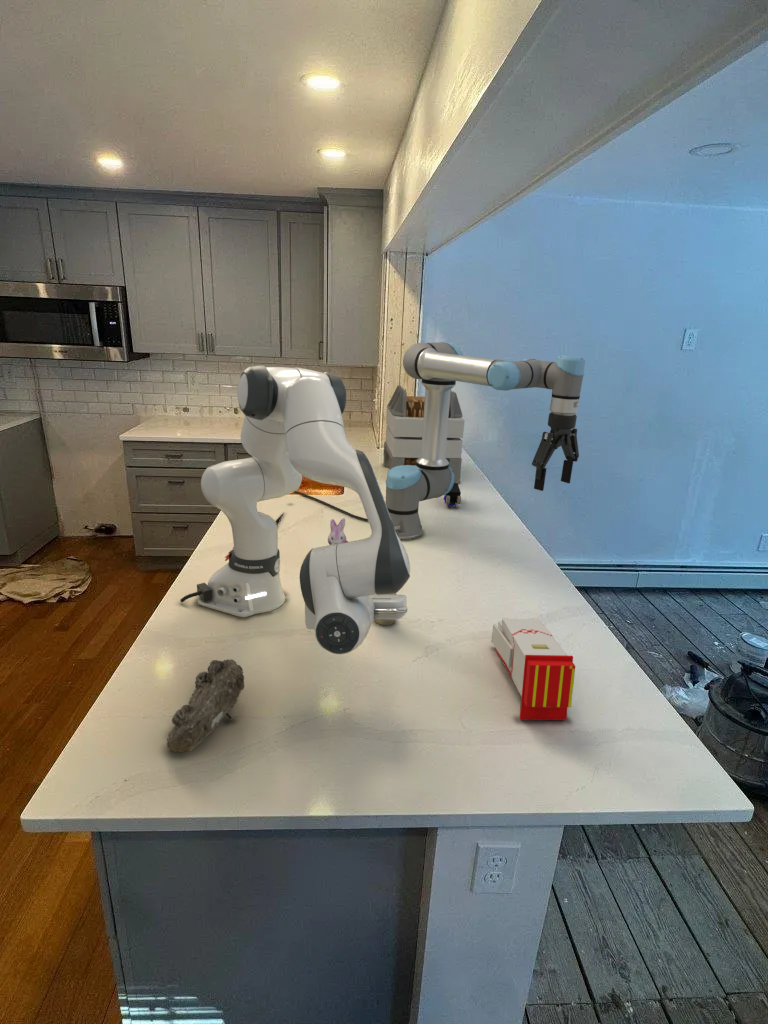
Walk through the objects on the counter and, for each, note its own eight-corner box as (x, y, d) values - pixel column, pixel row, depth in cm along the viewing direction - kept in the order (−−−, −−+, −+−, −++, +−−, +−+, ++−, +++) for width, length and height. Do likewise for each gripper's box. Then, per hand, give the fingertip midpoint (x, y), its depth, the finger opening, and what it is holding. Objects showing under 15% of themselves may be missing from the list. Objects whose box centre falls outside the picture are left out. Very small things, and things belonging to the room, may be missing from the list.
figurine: (332, 575, 167) (332, 527, 162) (319, 561, 175) (319, 516, 170) (361, 569, 171) (362, 523, 166) (347, 556, 179) (348, 512, 174)
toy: (537, 603, 136) (584, 662, 106) (532, 655, 138) (577, 726, 109) (487, 602, 135) (520, 661, 106) (483, 654, 138) (514, 725, 109)
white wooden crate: (382, 463, 289) (386, 382, 275) (445, 464, 293) (451, 384, 279) (390, 482, 257) (394, 392, 243) (460, 483, 261) (468, 394, 247)
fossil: (192, 660, 117) (244, 628, 112) (224, 691, 120) (276, 661, 115) (142, 746, 98) (202, 712, 93) (182, 779, 101) (242, 748, 96)
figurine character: (461, 513, 227) (456, 497, 240) (463, 496, 223) (458, 481, 237) (444, 512, 226) (440, 496, 240) (446, 495, 223) (442, 480, 237)
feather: (291, 507, 225) (293, 503, 224) (273, 530, 198) (276, 526, 198) (287, 504, 224) (289, 500, 224) (269, 528, 198) (272, 523, 197)
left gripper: (406, 595, 105) (409, 583, 118) (297, 595, 106) (312, 583, 120) (407, 629, 105) (409, 613, 119) (298, 628, 106) (313, 612, 120)
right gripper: (548, 419, 148) (537, 496, 155) (598, 411, 163) (586, 482, 171) (525, 414, 153) (515, 489, 160) (575, 407, 169) (564, 476, 176)
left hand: (360, 598), depth 119 cm, fingers open, 8 cm apart
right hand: (552, 485), depth 166 cm, fingers open, 13 cm apart
